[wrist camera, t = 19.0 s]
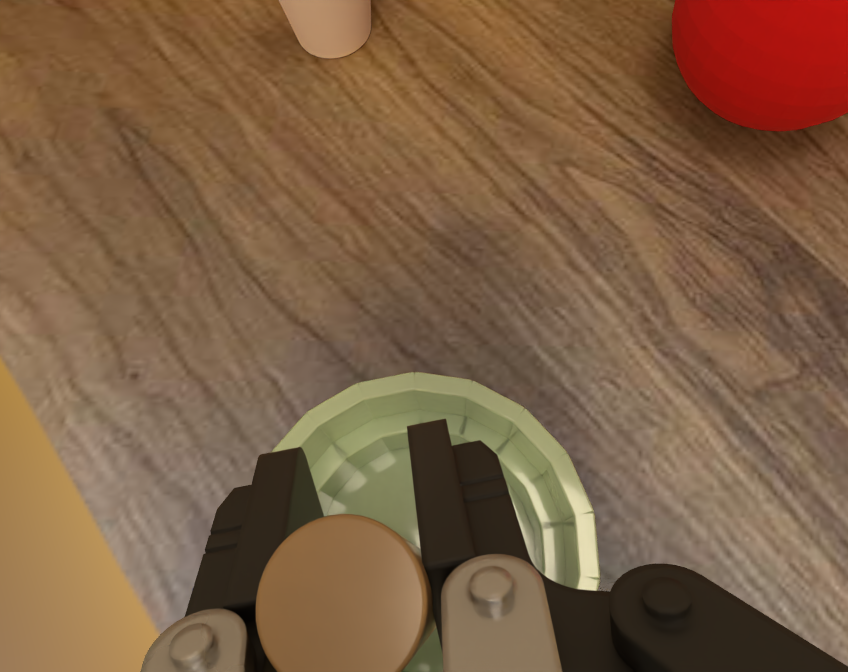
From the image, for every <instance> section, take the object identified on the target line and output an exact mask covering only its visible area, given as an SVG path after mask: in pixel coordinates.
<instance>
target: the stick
mask: <svg viewBox="0 0 848 672" xmlns="http://www.w3.org/2000/svg"><path fill="white" fill-rule="evenodd" d="M256 624H257V631H258V635H259V638H260V642H261V645H262V647H263V650H264V652H265V654H266V656H267V658H268V660H269V661H270V663H271V665H272V666H273V667H274V669H275V670H276V671H277V672H402V671H403V670H404V669H405V667H406V666H407V665H408V663H409V662H410V661H411V660H412V658H413V657H414V656H415V654H416V653H417V652H418V650H419V649H420V648H421V647H422V645H423V644H424V643H425V641H426V640H427V639H428V637H429V636H430V635H431V634H432V632H433V631H434V630H435V628H436V623H435V619H434V615H433V598H432V591H431V586H430V582H429V579H428V575H427V573H426V571H425V568H424V566H423V563H422V558H421V549H420V548H419V547H417V546H416V545H414V544H413V543H411V542H410V541H408V540H407V539H405V538H404V537H403V536H401V535H400V534H398V533H397V532H395V531H394V530H392V529H391V528H389V527H388V526H386V525H384V524H383V523H381V522H378V521H376V520H374V519H371V518H368V517H365V516H361V515H354V514H337V515H329V516H326V517H322V518H318V519H316V520H314V521H311V522H309V523H307V524H305V525H303V526H302V527H300V528H298V529H297V530H296V531H294V532H293V533H292V534H290V535H289V536H288V537H287V538H286V539H285V540H284V541H283V542H282V543H281V544H280V546H279V547H278V548H277V549H276V551H275V552H274V553H273V555H272V557H271V558H270V560H269V561H268V563H267V565H266V567H265V569H264V572H263V574H262V577H261V580H260V583H259V587H258V592H257V597H256Z"/></svg>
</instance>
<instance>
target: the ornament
mask: <svg viewBox="0 0 848 672" xmlns="http://www.w3.org/2000/svg"><path fill="white" fill-rule="evenodd" d="M672 40H673V50H674V54H675V57H676V61H677V64H678V67H679V69H680V72H681V74H682V76H683V78H684V80H685V82H686V84H687V86H688V88H689V89H690V90H691V91H692V92H693V94H694V95H695V96H696V97H697V99H698V100H699V101H701V102H702V103H703V104H704V105H705V106H707V107H708V108H709V109H710V110H711V111H713V112H714V113H715V114H717V115H719V116H721V117H722V118H724V119H726V120H727V121H730V122H733V123H735V124H738V125H740V126H744V127H749V128H753V129H758V130H767V131H790V130H799V129H803V128H807V127H810V126H814V125H817V124H821V123H825V122H828V121H832V120H834V119H836V118H838V117H840V116H842V115H844V114H846V113H848V0H675V4H674V9H673V13H672Z"/></svg>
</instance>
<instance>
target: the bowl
mask: <svg viewBox="0 0 848 672" xmlns="http://www.w3.org/2000/svg"><path fill="white" fill-rule="evenodd" d="M440 419H446V421H447V425H448V430H449V435H450V439H451V444H452V445H458V444H463V443H468V442H473V441H478V440H481V441H482V442H483V443H484V444H486V445H487V446H488V447H489V448H490V449H491V450H492V451H494V452H495V453H496V454H497V455H498V459H499V462H500V465H501V468H502V471H503V475H504V478H505V481H506V484H507V487H508V490H509V494H510V497H511V500H512V503H513V506H514V509H515V512H516V515H517V519H518V522H519V525H520V528H521V531H522V534H523V538H524V541H525V544H526V547H527V550H528V553H529V556H530V558H531V561H532V562H533V564H534V565H535V567H536V568H537V569H538V570H539V571H540V572H541V573H542V574H543V575H545V576H546V577H547V578H549V579H551V580H553V581H554V582H556V583H559V584H561V585H564V586H567V587H571V588H575V589H583V590H594V591H598V587H599V584H600V580H599V578H600V567H599V555H598V544H597V533H596V522H595V514H594V512H593V511H594V509H593V507H592V505H591V503H590V500H589V498H588V496H587V494H586V491H585V489H584V487H583V485H582V483H581V480H580V478H579V476H578V474H577V472H576V469H575V467H574V465H573V463H572V460H571V458H570V456H569V454H568V453H567V452H566V450H565V449H564V448H563V447H562V446H561V445H560V444H559V443H558V442H557V440H556V439H555V438H554V437H553V436H552V435H551V434H550V433H549V432H548V431H547V430H546V429H545V428H544V427H543V426H542V425H541V423H540V422H539V421H538V420H537V419H536V418H535V417H534V416H533V415H532V414H531V413H530V412H529V411H528V410H527V409H524V407H523V406H522V405H520V404H518V403H516V402H514V401H512V400H510V399H508V398H506V397H504V396H502V395H501V394H499V393H497V392H495V391H493V390H491V389H489V388H487V387H485V386H483V385H481V384H479V383H478V382H476V381H472V380H470V379H464V378H457V377H450V376H443V375H436V374H429V373H422V372H415V373H414V372H410V373H404V374H399V375H394V376H389V377H384V378H379V379H374V380H368V381H363V382H359V383H358V384H357V383H356V384H354V385H352V386H350V387H349V388H347V389H345V390H343V391H342V392H340V393H338V394H337V395H335V396H333V397H331V398H330V399H328V400H326V401H324V402H323V403H321V404H319V405H317V406H316V407H314V408H312V409H311V410H309V411H307V413H306V414H304V415H303V416H302V417H301V419H300V420H299V421H298V422H297V423H296V424H295V425H294V427H293V428H292V429H291V430H290V431H289V432H288V433H287V434H286V436H285V437H284V438H283V439H282V440H281V441H280V442H279V444H278V445H277V446H276V447H275V448H274V449H273V450H272V451H271V452H276V451H281V450H287V449H292V448H297V447H301V448H302V449H303V451H304V453H305V455H306V458H307V461H308V465H309V468H310V471H311V475H312V478H313V481H314V485H315V488H316V491H317V494H318V498H319V501H320V504H321V508H322V511H323V515H324V517H326V516H329V515H337V514H354V515H361V516H365V517H368V518H371V519H374V520H376V521H378V522H381V523H383V524H384V525H386V526H388V527H389V528H391V529H392V530H394V531H395V532H397V533H398V534H400V535H401V536H403V537H404V538H405V539H407V540H408V541H410V542H411V543H413V544H414V545H416V546H417V547H419V548H420V540H419V531H418V522H417V513H416V504H415V495H414V486H413V477H412V469H411V460H410V451H409V442H408V433H407V426H410V425H415V424H420V423H425V422H430V421H435V420H440ZM402 672H443V653H442V649H441V645H440V640H439V636H438V632H437V627H436V628H435V630H434V631H433V632H432V634H431V635H430V636H429V637H428V639H427V640H426V641H425V643H424V644H423V645H422V647H421V648H420V649H419V650H418V652H417V653H416V654H415V656H414V657H413V658H412V660H411V661H410V662H409V663H408V665H407V666H406V667H405V669H404V670H403V671H402Z"/></svg>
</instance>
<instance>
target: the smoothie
mask: <svg viewBox="0 0 848 672" xmlns="http://www.w3.org/2000/svg"><path fill="white" fill-rule="evenodd" d="M279 2H280V4H281V6H282V8H283V10H284V12H285V14H286V16H287V18H288V20H289V23H290V25H291V27H292V29H293V31H294V33H295V35H296V37H297V39H298V41H299V43H300V44H301V46H302V47H303V48H304V49H305V50H306V51H307V52H309V53H310V54H312V55H314V56H317V57H321V58H339V57H343V56H347V55H349V54H351V53H353V52H355V51H356V50H358V49H359V48H360V47H361V46H362V45H363V44H364V43H365V42H366V40H367V39H368V37H369V34H370V31H371V0H279Z"/></svg>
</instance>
